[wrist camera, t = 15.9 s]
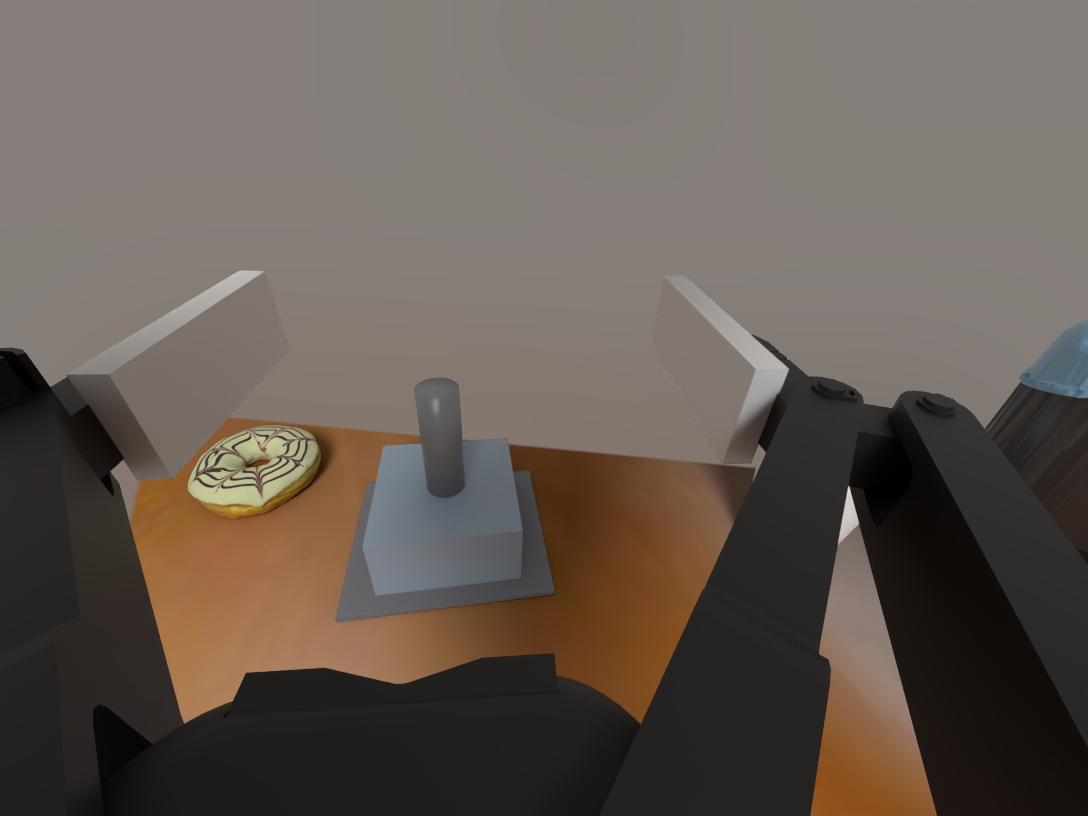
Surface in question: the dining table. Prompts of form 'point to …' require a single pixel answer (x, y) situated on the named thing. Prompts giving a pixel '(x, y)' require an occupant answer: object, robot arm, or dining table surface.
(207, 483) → the decorated donut
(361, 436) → the dining table surface
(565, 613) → the dining table surface
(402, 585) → the cover
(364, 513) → the mat
